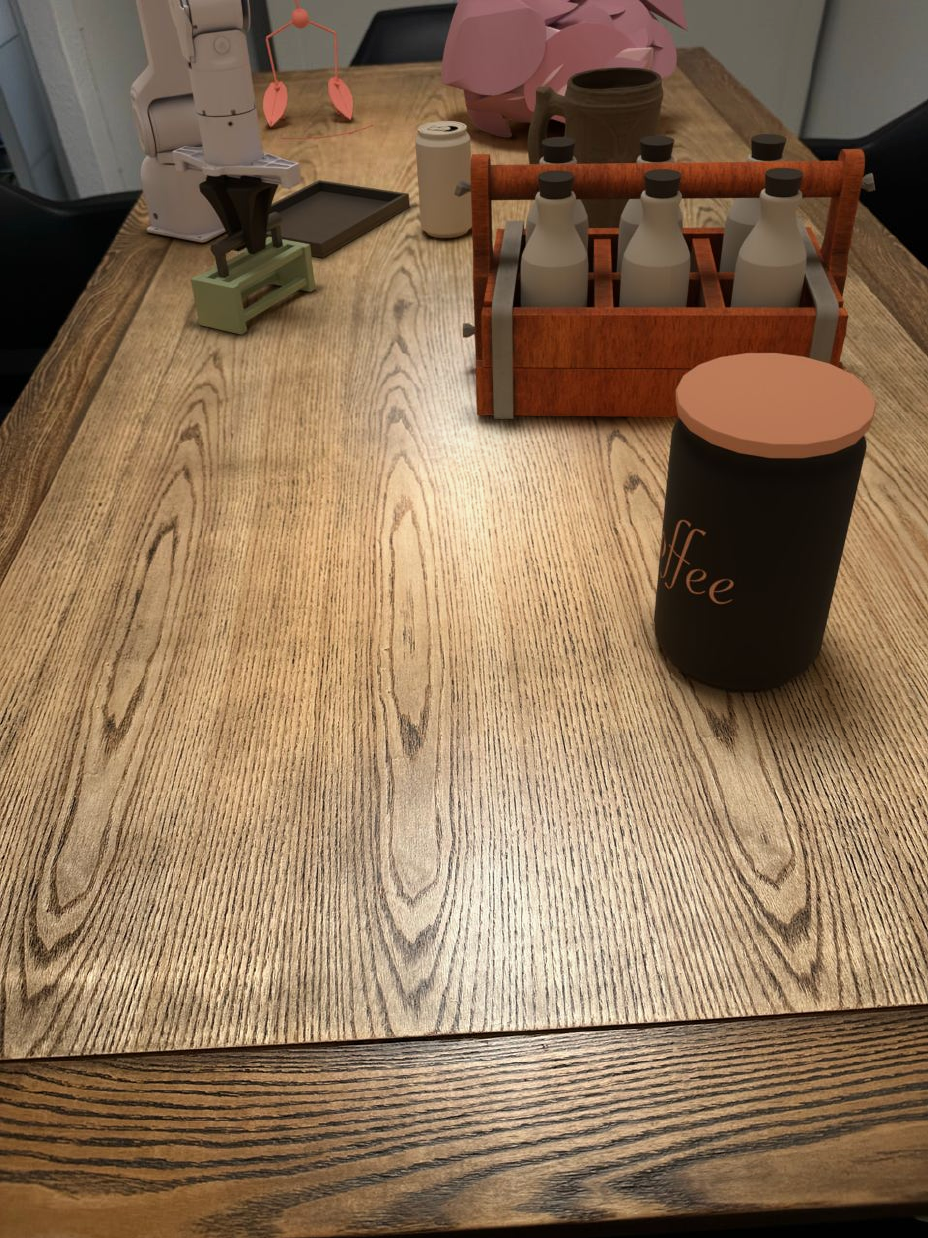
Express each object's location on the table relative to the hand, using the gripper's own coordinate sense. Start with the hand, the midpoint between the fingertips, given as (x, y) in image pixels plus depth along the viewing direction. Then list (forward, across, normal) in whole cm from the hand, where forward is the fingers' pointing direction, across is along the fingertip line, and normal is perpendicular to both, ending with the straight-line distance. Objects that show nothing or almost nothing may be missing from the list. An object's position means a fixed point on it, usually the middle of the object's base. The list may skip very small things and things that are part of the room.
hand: (249, 249), depth 111 cm
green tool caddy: (+6, 0, 0) cm, 6 cm away
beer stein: (+6, +27, +25) cm, 37 cm away
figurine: (+6, -36, +59) cm, 69 cm away
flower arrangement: (+6, +1, +73) cm, 73 cm away
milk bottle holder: (+6, +43, +4) cm, 44 cm away
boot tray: (+6, -9, +24) cm, 26 cm away
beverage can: (+6, +7, +28) cm, 30 cm away
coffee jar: (+6, +63, -30) cm, 70 cm away
